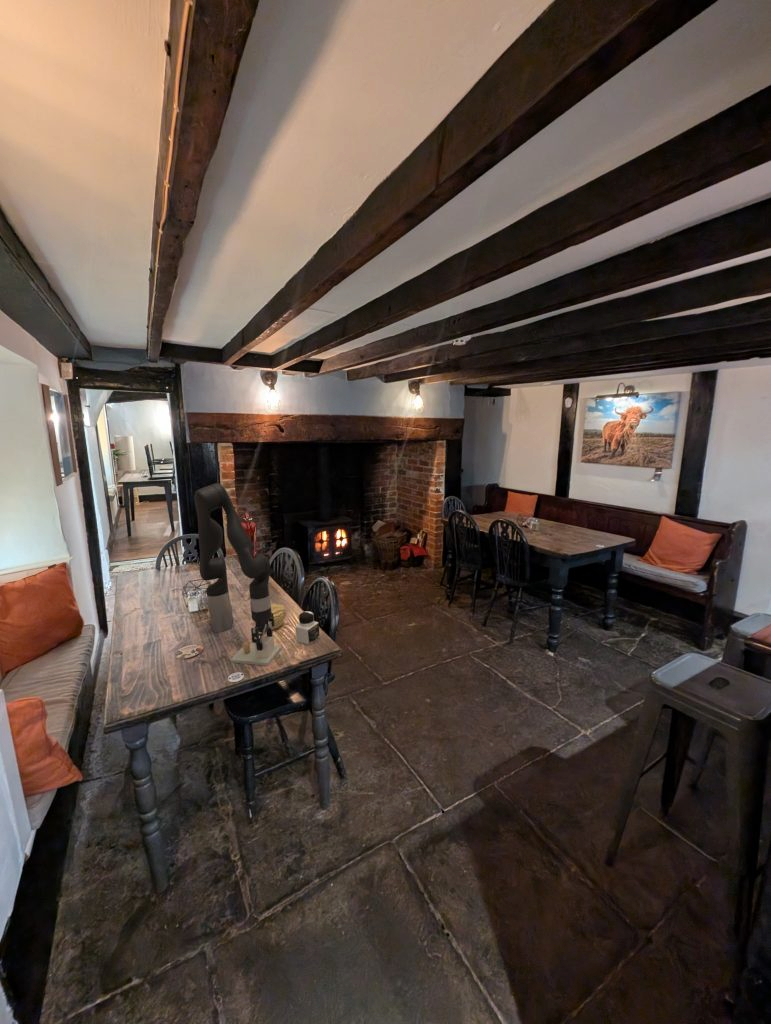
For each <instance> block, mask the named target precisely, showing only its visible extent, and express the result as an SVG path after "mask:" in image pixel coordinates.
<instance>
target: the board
mask: <svg viewBox="0 0 771 1024" xmlns="http://www.w3.org/2000/svg"><path fill="white" fill-rule="evenodd" d="M274 646H275V651H274V652H273V653H272V655H271V656H270V657H269V658H264V657H256V652H255V643H252V644H251V643H250V642H249V641H245V642H243V643H242V647H241V649H239V650H238V651H237V652H236V653H235V654H234V655H233V656H232V657H231V658H230V659H229V662H230V663H231V664H242V665H255V666H266V667H267V666H270V664H271V663H272V662H273V660H274V659H275V658H276V657H277V655H278V654H279V653H280V652H281V651H282V650H283V649H282V646H280V645H279V646H278V645H274Z"/></svg>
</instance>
